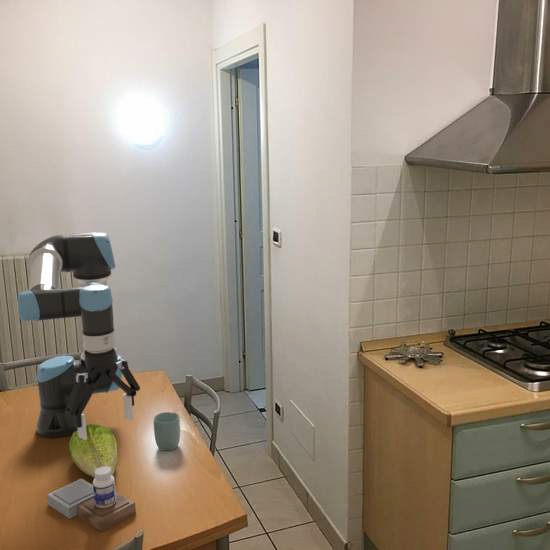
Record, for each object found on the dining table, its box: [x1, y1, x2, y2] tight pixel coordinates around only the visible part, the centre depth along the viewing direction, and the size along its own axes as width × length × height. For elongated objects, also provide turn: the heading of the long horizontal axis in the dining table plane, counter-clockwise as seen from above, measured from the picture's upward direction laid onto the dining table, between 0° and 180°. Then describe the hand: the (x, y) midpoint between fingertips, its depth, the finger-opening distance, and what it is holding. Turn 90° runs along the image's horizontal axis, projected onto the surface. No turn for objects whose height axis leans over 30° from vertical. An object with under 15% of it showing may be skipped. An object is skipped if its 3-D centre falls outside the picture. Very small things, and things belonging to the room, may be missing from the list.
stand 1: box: [46, 478, 94, 519], centre depth 164 cm, size 10×10×3 cm
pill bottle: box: [92, 467, 117, 508], centre depth 157 cm, size 5×5×9 cm
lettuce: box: [68, 423, 118, 479], centre depth 181 cm, size 12×24×13 cm
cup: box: [152, 411, 181, 452], centre depth 192 cm, size 8×8×10 cm
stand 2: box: [78, 491, 137, 533], centre depth 158 cm, size 10×10×3 cm
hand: (106, 428), depth 159 cm, fingers open, 13 cm apart
